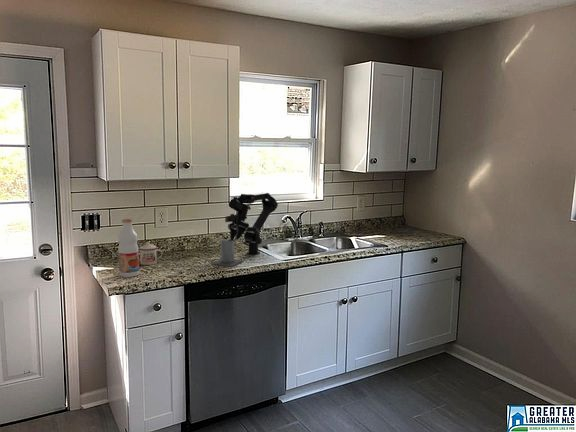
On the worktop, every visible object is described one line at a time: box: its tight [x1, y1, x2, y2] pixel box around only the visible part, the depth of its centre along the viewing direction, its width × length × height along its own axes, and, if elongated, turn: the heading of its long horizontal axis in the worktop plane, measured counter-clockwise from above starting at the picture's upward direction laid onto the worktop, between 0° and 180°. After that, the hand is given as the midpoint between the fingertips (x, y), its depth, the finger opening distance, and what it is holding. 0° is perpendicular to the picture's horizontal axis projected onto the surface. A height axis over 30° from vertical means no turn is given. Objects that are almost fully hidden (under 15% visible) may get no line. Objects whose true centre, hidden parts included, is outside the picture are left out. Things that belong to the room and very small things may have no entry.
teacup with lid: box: [139, 242, 163, 266], centre depth 261 cm, size 12×9×12 cm
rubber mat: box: [210, 258, 244, 268], centre depth 263 cm, size 13×13×3 cm
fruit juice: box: [117, 218, 140, 278], centre depth 235 cm, size 9×9×28 cm
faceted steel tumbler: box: [220, 238, 235, 263], centre depth 262 cm, size 7×7×12 cm
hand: (234, 239), depth 271 cm, fingers open, 9 cm apart
